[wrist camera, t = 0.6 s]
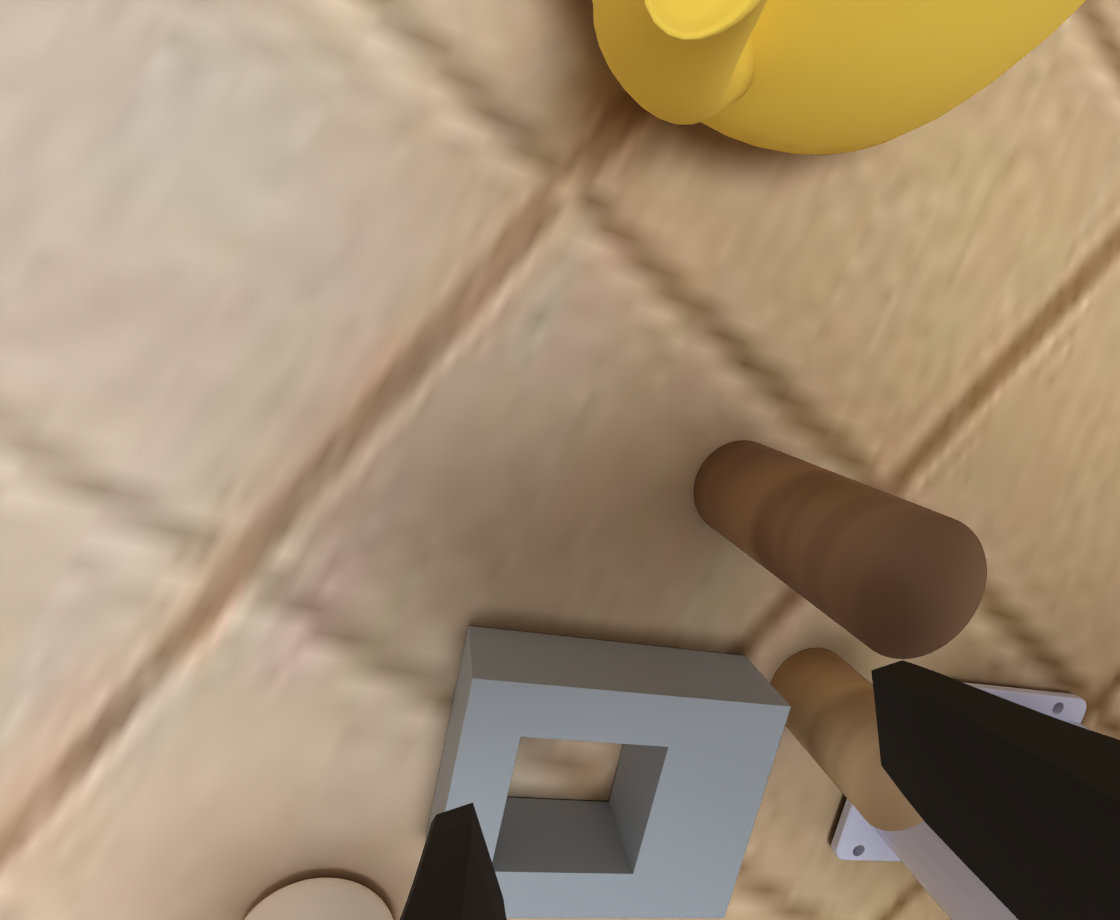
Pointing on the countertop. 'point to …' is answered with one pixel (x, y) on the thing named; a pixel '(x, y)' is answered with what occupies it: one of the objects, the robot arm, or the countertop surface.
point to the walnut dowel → (847, 547)
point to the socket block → (641, 778)
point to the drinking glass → (321, 902)
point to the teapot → (815, 62)
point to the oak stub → (842, 733)
